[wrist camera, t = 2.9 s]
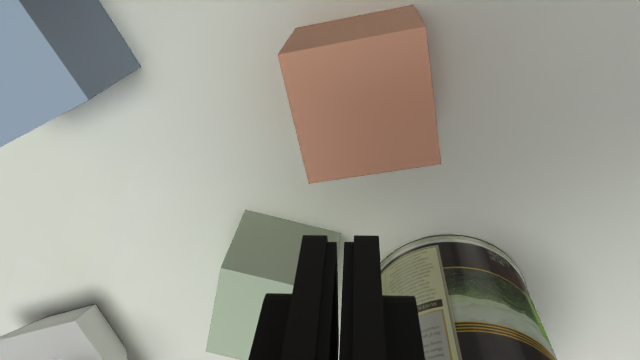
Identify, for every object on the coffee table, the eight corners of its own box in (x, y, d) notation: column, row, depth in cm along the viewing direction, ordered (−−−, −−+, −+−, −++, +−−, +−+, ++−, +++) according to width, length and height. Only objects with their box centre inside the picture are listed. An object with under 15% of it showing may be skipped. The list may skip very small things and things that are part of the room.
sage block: (340, 232, 32) (335, 295, 26) (318, 305, 34) (309, 376, 29) (245, 209, 32) (220, 267, 26) (230, 284, 34) (205, 351, 29)
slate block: (72, -42, 26) (-4, -32, 20) (141, 66, 28) (88, 99, 23) (-14, 13, 27) (-106, 35, 22) (58, 110, 30) (-10, 152, 24)
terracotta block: (413, 4, 25) (425, 26, 20) (426, 117, 28) (441, 163, 23) (295, 27, 26) (277, 54, 21) (319, 135, 29) (308, 183, 24)
